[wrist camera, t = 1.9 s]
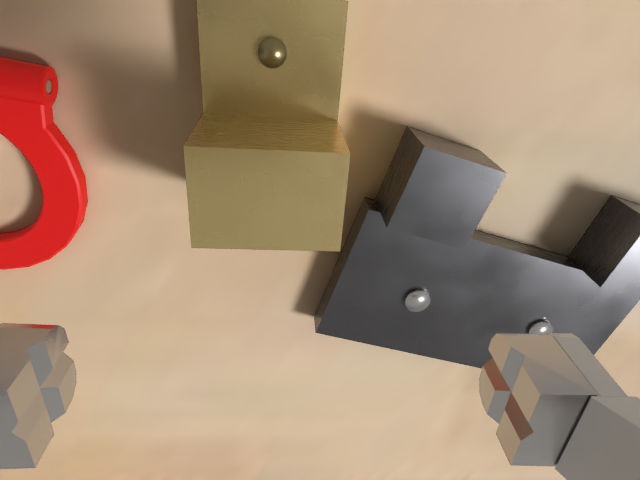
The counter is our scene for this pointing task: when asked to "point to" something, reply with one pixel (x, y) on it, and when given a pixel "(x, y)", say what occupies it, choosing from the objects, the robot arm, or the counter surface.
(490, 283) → the fixed leaf
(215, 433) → the counter surface
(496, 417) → the robot arm
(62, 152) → the tow hook
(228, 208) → the loose leaf
